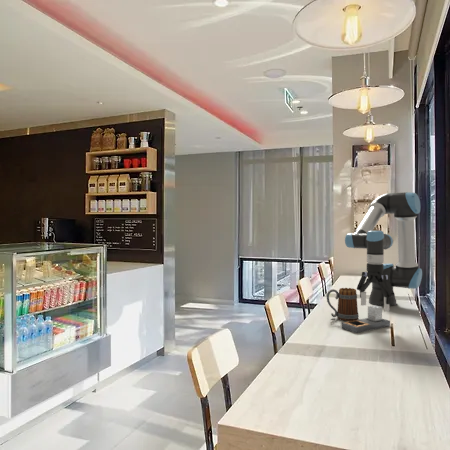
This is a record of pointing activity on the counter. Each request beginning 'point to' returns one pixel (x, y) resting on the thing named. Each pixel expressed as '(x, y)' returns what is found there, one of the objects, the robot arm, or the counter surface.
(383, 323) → the rail plate
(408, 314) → the counter surface
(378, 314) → the steel peg
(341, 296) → the mug
